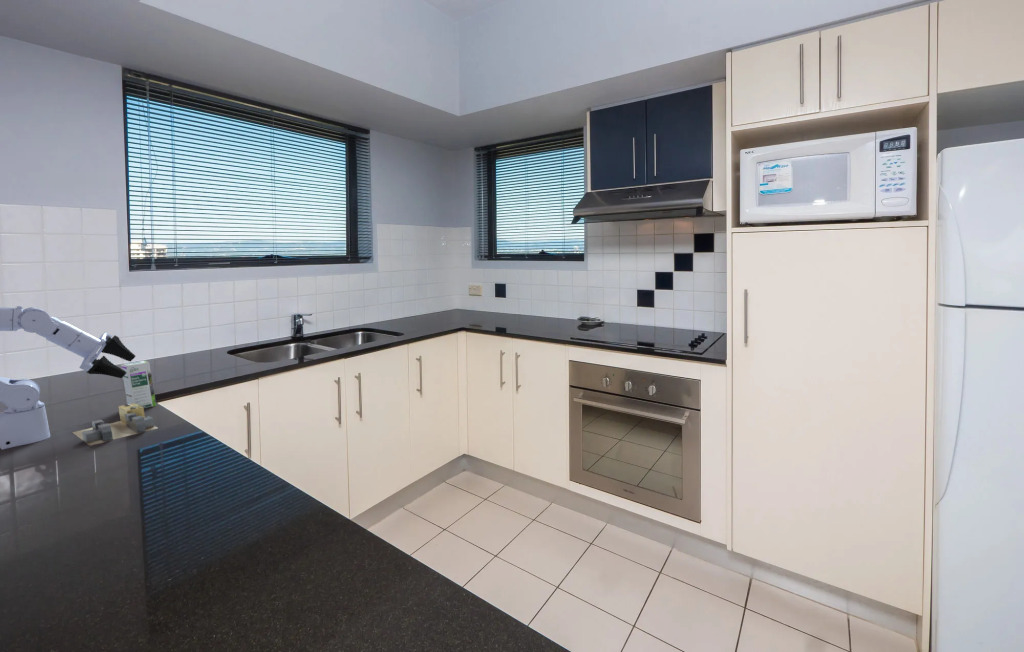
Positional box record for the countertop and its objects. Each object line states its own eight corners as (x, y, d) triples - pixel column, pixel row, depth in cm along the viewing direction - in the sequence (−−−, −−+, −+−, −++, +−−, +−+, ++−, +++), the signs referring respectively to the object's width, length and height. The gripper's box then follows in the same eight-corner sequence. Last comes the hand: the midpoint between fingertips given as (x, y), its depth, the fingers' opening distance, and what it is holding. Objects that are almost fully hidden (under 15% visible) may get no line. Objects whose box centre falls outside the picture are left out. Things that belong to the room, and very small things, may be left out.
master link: (129, 426, 132) (126, 409, 131) (120, 421, 137) (118, 405, 136) (145, 422, 134) (143, 406, 134) (136, 417, 139) (133, 402, 139)
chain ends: (90, 445, 118) (87, 430, 117) (80, 438, 123) (78, 424, 123) (158, 428, 129) (155, 414, 128) (146, 422, 134) (144, 409, 134)
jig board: (90, 448, 118) (89, 445, 118) (72, 435, 129) (72, 432, 129) (158, 431, 129) (158, 428, 129) (137, 419, 140) (137, 417, 140)
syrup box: (134, 413, 147) (126, 365, 145) (127, 410, 150) (120, 363, 148) (157, 408, 151) (149, 361, 149) (150, 405, 155) (143, 359, 153)
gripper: (72, 346, 122) (129, 374, 130) (95, 315, 134) (146, 343, 142) (54, 363, 123) (112, 390, 131) (78, 331, 135) (130, 358, 143)
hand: (128, 366), depth 137 cm, fingers open, 7 cm apart
